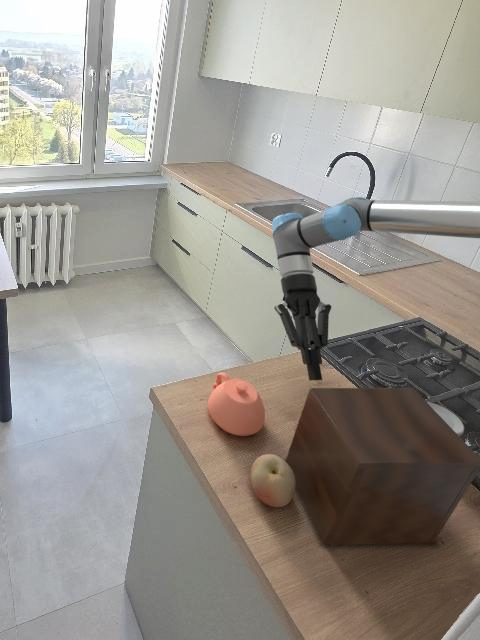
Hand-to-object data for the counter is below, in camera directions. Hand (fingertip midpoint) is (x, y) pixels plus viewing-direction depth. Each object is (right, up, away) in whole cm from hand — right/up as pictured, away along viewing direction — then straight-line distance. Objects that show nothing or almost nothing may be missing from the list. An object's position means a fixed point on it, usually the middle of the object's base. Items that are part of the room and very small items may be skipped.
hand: (315, 380), depth 92 cm
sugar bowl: (-18, -10, +4) cm, 21 cm away
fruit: (-16, -17, -12) cm, 27 cm away
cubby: (0, -18, -13) cm, 22 cm away
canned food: (+21, -15, -3) cm, 26 cm away
